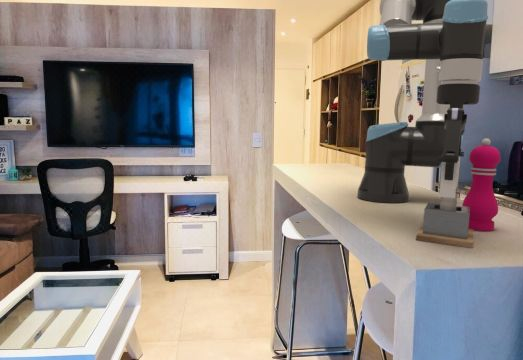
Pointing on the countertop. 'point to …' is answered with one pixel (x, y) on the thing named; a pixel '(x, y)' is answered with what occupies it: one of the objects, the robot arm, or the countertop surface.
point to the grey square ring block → (446, 221)
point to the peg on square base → (445, 205)
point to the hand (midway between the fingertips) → (449, 191)
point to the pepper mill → (482, 187)
